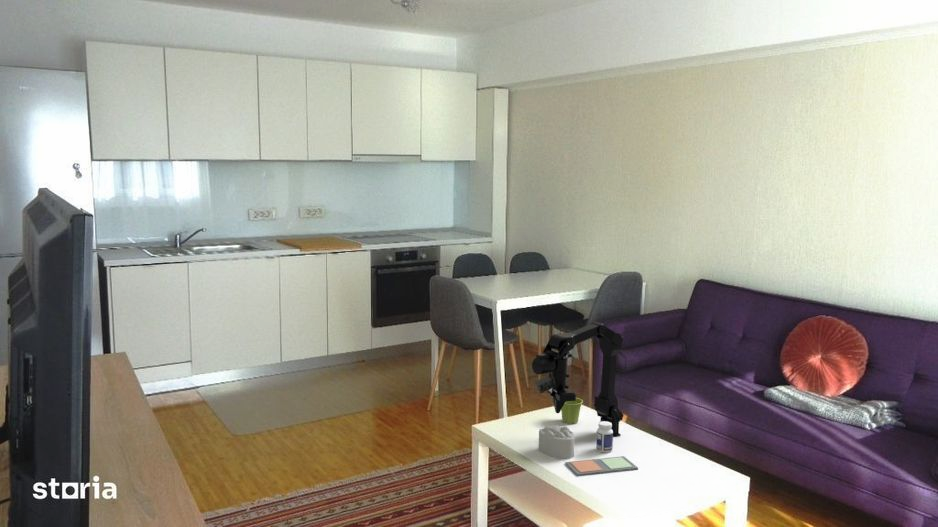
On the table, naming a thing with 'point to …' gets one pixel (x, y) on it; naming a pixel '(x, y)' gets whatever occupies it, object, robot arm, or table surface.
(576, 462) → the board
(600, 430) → the pill bottle
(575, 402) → the plant pot
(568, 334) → the robot arm
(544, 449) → the lumpy-topped squat cylinder
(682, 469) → the table surface
